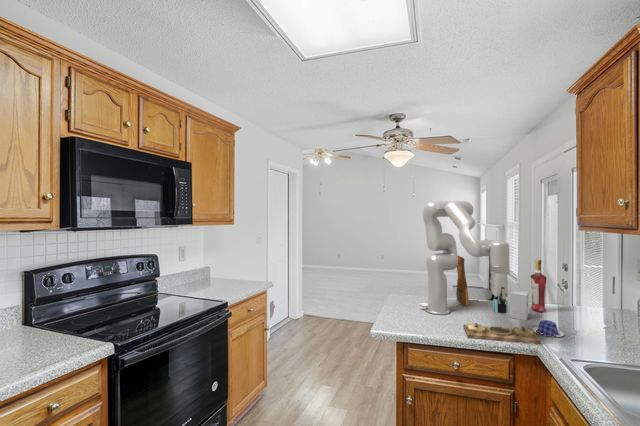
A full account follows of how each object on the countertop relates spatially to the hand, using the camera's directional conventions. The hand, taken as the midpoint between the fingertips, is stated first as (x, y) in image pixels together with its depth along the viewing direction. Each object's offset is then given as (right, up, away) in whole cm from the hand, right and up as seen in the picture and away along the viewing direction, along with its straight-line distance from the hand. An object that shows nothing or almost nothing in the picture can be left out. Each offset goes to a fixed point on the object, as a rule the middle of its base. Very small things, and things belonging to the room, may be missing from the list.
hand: (500, 310), depth 151 cm
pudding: (+23, -12, +4) cm, 26 cm away
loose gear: (0, -1, 0) cm, 1 cm away
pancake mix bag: (+5, -11, +53) cm, 54 cm away
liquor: (+39, -11, +35) cm, 54 cm away
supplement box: (+23, -11, +25) cm, 36 cm away
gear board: (0, -11, 0) cm, 11 cm away
